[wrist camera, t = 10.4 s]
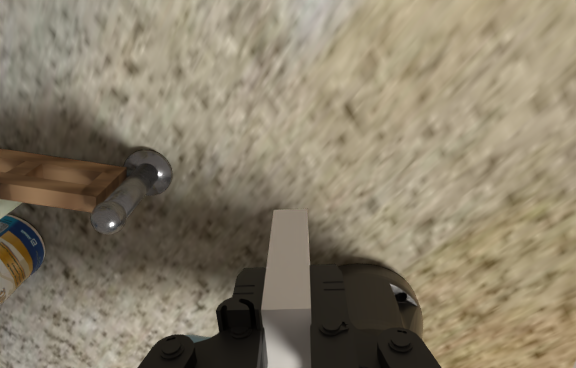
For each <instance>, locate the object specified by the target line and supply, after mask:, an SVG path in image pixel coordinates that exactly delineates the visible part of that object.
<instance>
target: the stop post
mask: <svg viewBox="0 0 576 368" xmlns="http://www.w3.org/2000/svg"><path fill="white" fill-rule="evenodd" d="M22 203H23V202H17V201H10V200H3V199H0V219H1V218H2V217H4V216H5V215H7V214H8V213H9V212H11V211H12V210H13V209H15V208H16V207H18V206H19V205H20V204H22Z"/></svg>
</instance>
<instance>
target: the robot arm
mask: <svg viewBox="0 0 576 368" xmlns="http://www.w3.org/2000/svg"><path fill="white" fill-rule="evenodd" d="M216 314H217V320H218V327H219V333H218V334H217V335H215V336H213V337H204V336H197V335H171V336H168V337H165V338H163V339H162V340H160V341H158V342H157V343H156V344H155V345H154V346H153V347H152V349H151V350H150V351H149V353H148V354H147V356H146V357H145V358H144V360H143V361H142V362H141V364H140V365H139V367H138V368H441V366H440V365H439V364H438V362H437V361H436V359H435V358H434V356H433V355H432V354H431V352H430V351H429V349H428V348H427V346H426V345H425V343H424V342H423V341H422V332H423V317H422V312H421V308H420V305H419V303H418V300H417V298H416V295H415V293H414V291H413V290H412V288H411V287H410V285H409V284H408V283H407V282H406V281H405V280H404V279H403V278H402V277H400V276H399V275H397V274H396V273H394V272H392V271H390V270H388V269H385V268H383V267H379V266H375V265H369V264H350V265H343V266H339V267H337V266H336V264H326V265H310V257H309V235H308V213H307V209H282V210H274V211H273V219H272V227H271V235H270V243H269V251H268V259H267V267H266V268H244V269H243V270H242V271H241V273H240V274H239V275H238V276H237V279H236V284H235V288H234V293H233V297H232V298H229V299H227V300H225V301H223V302H222V303H221V304H220V305H219V306H218V308H217V310H216Z"/></svg>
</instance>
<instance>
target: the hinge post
mask: <svg viewBox="0 0 576 368" xmlns="http://www.w3.org/2000/svg"><path fill="white" fill-rule="evenodd" d="M124 167H127V178H126V179H125V180H124V181H123V182H122V183H121V184H120V185H119V186H118V187H117V188H116V189H115V190H114V191H113V192H112V193H111V194H110V196H109V197H108V198H107V199H106V200H105V201H104V202H101V203H99V204H98V205H96V206H95V207H94V209H93V210H92V212H91V216H90V220H91V224H92V226H93V227H94V229H95V230H97V231H98V232H100V233H102V234H114V233H116V232H118V231H120V230H121V229H122V228H123V227H124V225H125V223H126V219H127V218H128V216H129V215H130V214H131V213H132V211H133V210H134V209H135V208H136V206H137V205H138V204H139V203H140V201H141V200H142V199H143V197H144V196H145V195H157V194H160V193H162V192H163V191H165V190H166V189H167V187H168V186H169V185H170V183H171V180H172V168H171V166H170V164H169V162H168V161H167V159H166V158H165V157H164V156H163V155H161V154H160V153H158V152H156V151H153V150H139V151H136V152H134V153H133V154H132V155H130V156H129V157H128V158H127V160H126V161H125V163H124Z"/></svg>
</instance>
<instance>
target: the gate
mask: <svg viewBox="0 0 576 368" xmlns="http://www.w3.org/2000/svg"><path fill="white" fill-rule="evenodd" d="M126 178H127V167H120V166H113V165H107V164H100V163H94V162H87V161H80V160H74V159H67V158H60V157H54V156H47V155H41V154H34V153H27V152H21V151H14V150H7V149H1V148H0V199H3V200H10V201H17V202H23V203H30V204H37V205H44V206H51V207H58V208H64V209H71V210H78V211H85V212H92V210H93V209H94V207H95V206H96V205H98V204H99V203H101V202H104V201H105V200H106V199H107V198H108V197H109V196H110V194H111V193H112V192H113V191H114V190H115V189H116V188H117V187H118V186H119V185H120V184H121V183H122V182H123V181H124V180H125V179H126Z"/></svg>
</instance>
